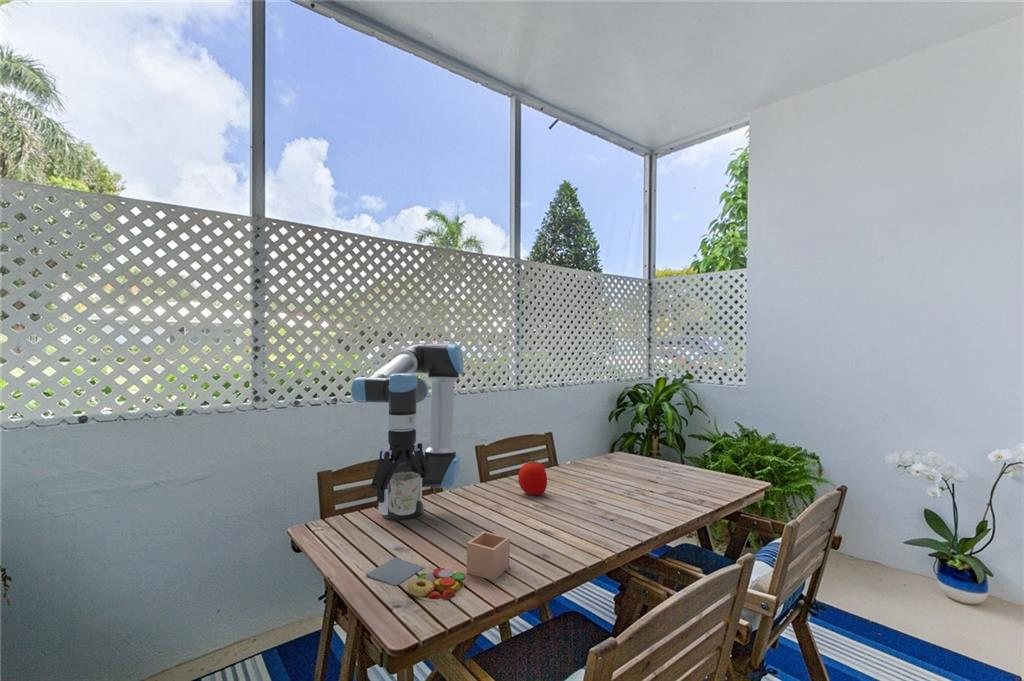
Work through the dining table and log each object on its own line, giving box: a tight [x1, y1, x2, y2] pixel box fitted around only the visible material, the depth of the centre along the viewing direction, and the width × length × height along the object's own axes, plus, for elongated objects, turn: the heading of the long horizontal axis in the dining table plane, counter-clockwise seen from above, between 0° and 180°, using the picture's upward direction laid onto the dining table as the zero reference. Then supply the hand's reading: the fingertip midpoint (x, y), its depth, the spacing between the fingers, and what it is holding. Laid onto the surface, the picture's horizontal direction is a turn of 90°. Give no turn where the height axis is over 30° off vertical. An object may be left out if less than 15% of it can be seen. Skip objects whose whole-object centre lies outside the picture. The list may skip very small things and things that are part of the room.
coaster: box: [365, 557, 425, 587], centre depth 122 cm, size 11×11×1 cm
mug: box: [388, 472, 420, 515], centre depth 123 cm, size 8×13×10 cm, turn 166°
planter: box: [466, 530, 511, 581], centre depth 122 cm, size 9×9×9 cm
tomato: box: [517, 460, 548, 496], centre depth 186 cm, size 13×11×14 cm
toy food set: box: [407, 567, 467, 603], centre depth 114 cm, size 13×13×3 cm
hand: (401, 506), depth 123 cm, fingers closed on mug, 12 cm apart
